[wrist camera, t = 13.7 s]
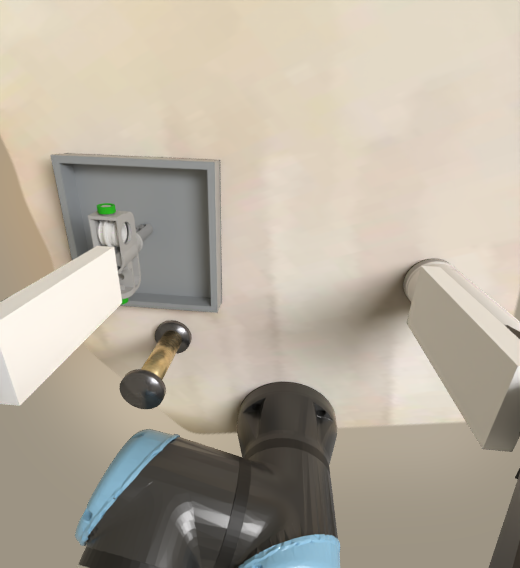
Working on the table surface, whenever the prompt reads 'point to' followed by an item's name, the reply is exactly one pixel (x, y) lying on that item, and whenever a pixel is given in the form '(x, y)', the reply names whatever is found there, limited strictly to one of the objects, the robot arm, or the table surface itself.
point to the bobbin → (155, 367)
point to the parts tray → (152, 221)
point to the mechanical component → (120, 243)
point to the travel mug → (466, 284)
